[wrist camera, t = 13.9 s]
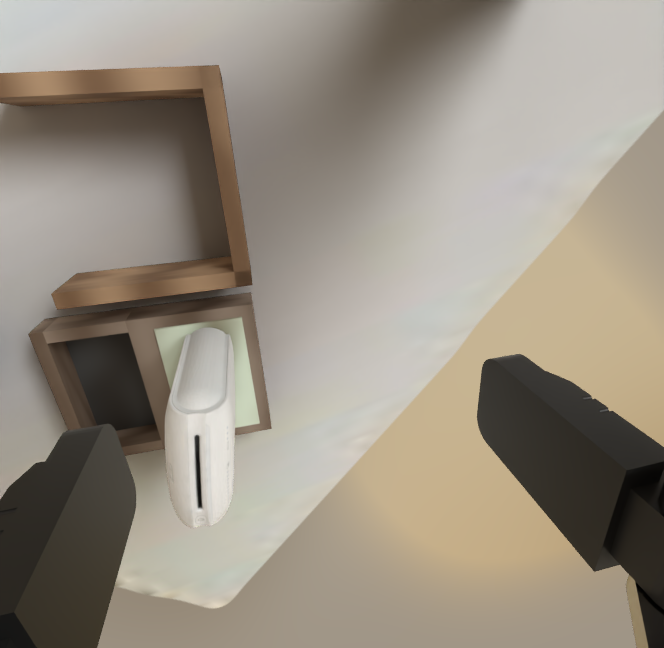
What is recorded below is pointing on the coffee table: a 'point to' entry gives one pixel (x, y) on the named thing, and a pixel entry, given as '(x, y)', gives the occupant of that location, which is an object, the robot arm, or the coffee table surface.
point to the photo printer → (202, 429)
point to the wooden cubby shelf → (209, 85)
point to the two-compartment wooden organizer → (145, 365)
